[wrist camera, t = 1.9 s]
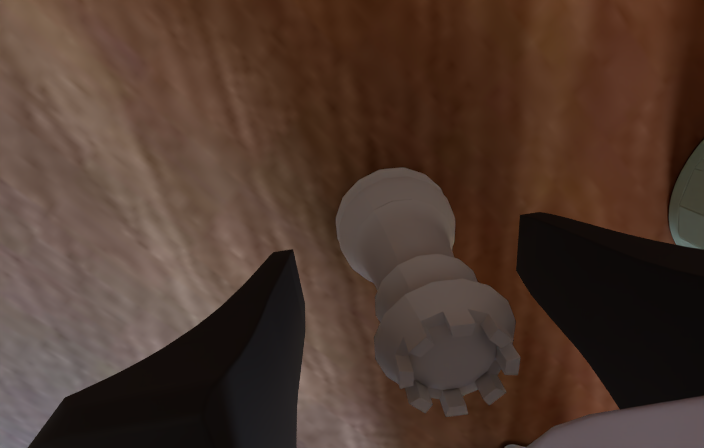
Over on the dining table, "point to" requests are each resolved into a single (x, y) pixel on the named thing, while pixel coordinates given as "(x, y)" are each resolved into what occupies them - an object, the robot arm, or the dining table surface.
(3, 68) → the dining table surface
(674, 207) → the pale green mug
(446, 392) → the rook chess piece
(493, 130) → the dining table surface
